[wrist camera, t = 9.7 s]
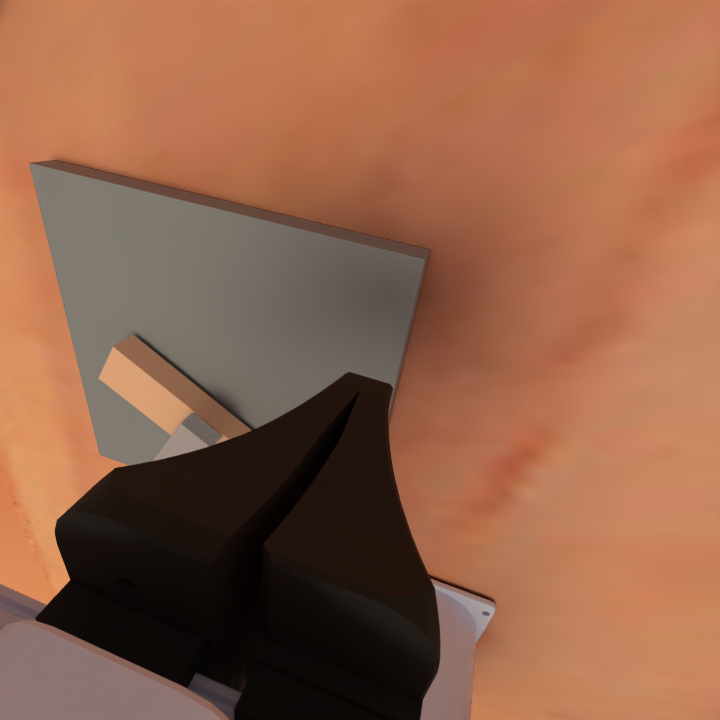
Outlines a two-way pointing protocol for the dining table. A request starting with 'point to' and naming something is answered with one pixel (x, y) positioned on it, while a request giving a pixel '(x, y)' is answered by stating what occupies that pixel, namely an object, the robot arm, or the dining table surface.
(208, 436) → the keeper
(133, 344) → the link
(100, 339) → the board
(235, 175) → the dining table surface
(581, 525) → the dining table surface
